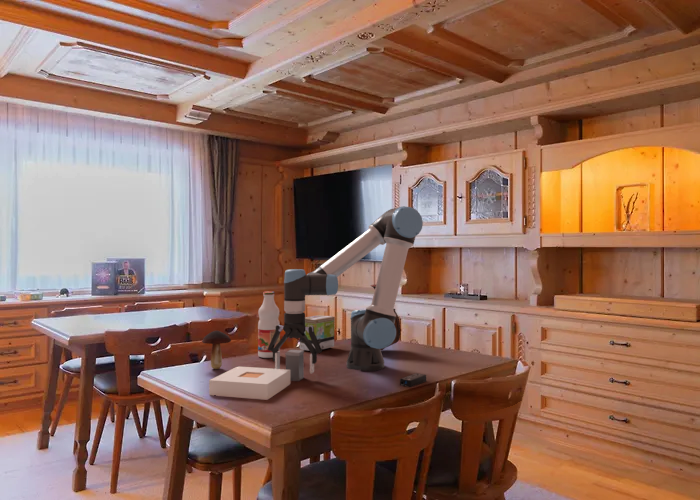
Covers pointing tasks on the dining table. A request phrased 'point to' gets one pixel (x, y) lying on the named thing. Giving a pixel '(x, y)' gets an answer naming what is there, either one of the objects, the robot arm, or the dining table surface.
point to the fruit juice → (267, 324)
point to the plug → (295, 364)
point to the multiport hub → (413, 380)
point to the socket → (250, 383)
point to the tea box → (320, 331)
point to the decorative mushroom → (216, 347)
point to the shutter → (252, 375)
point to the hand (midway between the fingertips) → (294, 371)
